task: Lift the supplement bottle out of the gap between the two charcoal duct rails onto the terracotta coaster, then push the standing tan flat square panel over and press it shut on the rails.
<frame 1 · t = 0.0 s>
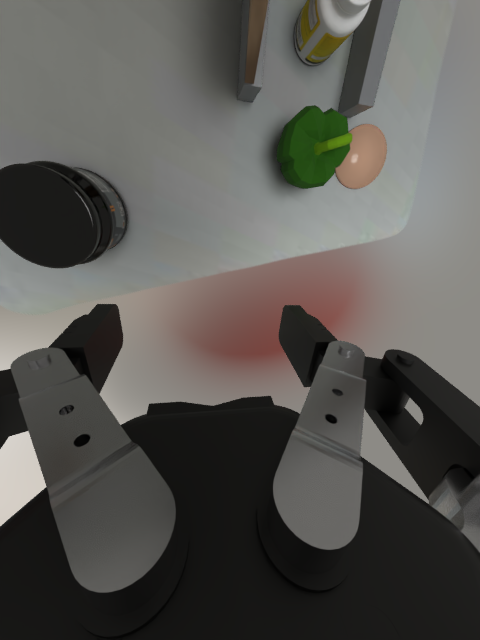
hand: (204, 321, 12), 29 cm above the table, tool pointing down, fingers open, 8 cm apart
duct rails: (305, 45, 29), on the table
supplement bottle: (313, 36, 29), on the table
coaster: (359, 158, 36), on the table
bell pepper: (296, 157, 35), on the table
supplement container: (90, 211, 34), on the table
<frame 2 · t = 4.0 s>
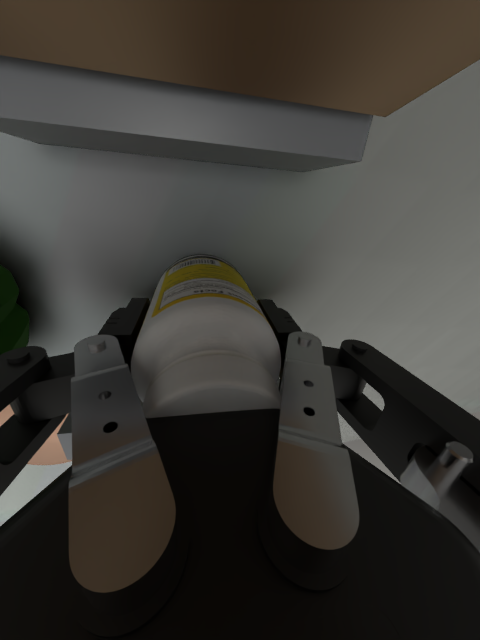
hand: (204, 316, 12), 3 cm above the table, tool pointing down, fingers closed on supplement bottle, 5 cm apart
duct rails: (186, 281, 14), on the table
supplement bottle: (203, 296, 15), on the table, touching gripper
coaster: (41, 425, 17), on the table
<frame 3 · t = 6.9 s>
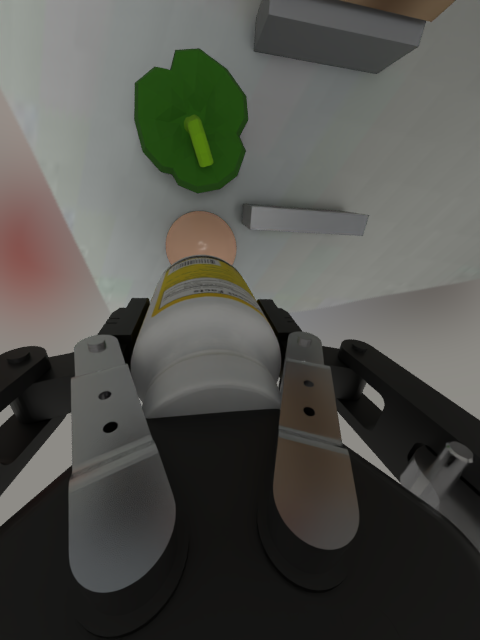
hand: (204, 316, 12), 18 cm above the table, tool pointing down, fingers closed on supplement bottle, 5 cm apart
duct rails: (305, 143, 25), on the table
supplement bottle: (203, 295, 15), point 15 cm above the table, touching gripper
coaster: (201, 248, 28), on the table
bell pepper: (193, 144, 24), on the table
when the fingers open (4 cm above the table, at t = 10.0 s): supplement bottle stays where it is, resting on coaster.
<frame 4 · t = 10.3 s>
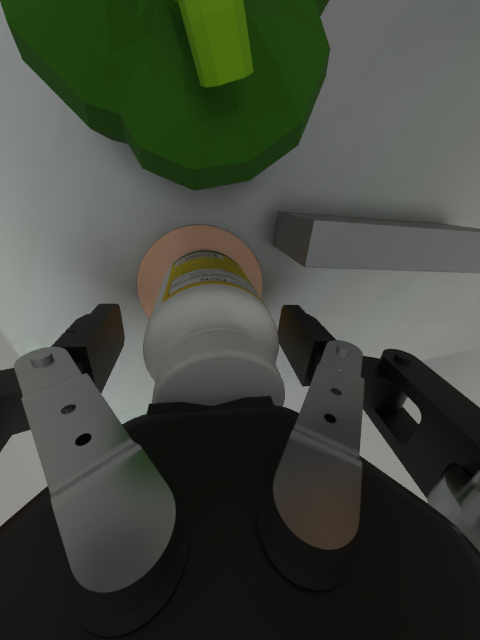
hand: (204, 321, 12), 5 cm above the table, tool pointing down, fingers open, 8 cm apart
duct rails: (403, 96, 13), on the table
supplement bottle: (206, 289, 16), resting on coaster
coaster: (202, 289, 16), on the table
bell pepper: (187, 90, 11), on the table
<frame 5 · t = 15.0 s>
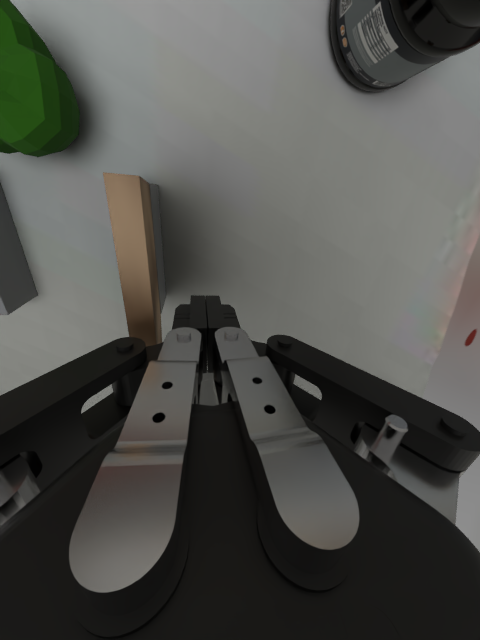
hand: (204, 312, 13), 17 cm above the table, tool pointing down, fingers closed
duct rails: (84, 242, 26), on the table
bell pepper: (41, 105, 20), on the table
supplement container: (379, 19, 21), on the table
tan flat square panel: (147, 283, 16), point 13 cm above the table, hinge at 97.7°, touching gripper
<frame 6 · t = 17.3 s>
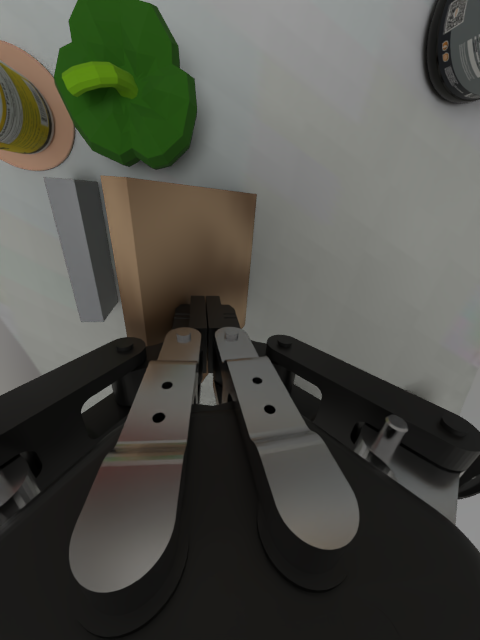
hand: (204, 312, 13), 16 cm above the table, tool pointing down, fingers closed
duct rails: (168, 250, 26), on the table
supplement bottle: (19, 116, 19), resting on coaster
coaster: (18, 112, 19), on the table
bell pepper: (147, 118, 21), on the table
supplement container: (471, 33, 22), on the table
tan flat square panel: (211, 290, 16), point 12 cm above the table, hinge at 60.8°, touching gripper
coffee cup: (397, 401, 45), on the table
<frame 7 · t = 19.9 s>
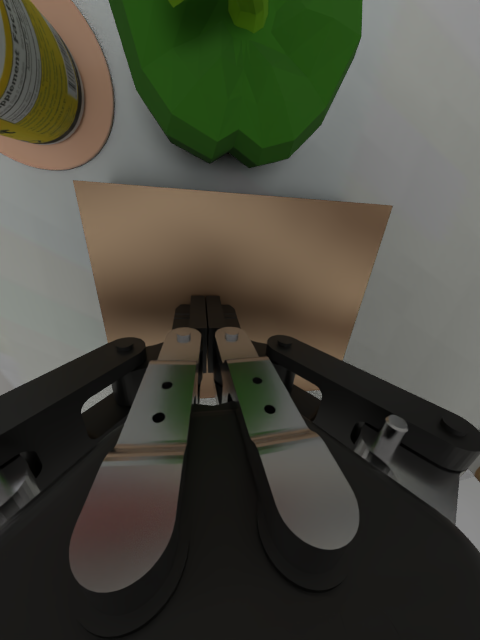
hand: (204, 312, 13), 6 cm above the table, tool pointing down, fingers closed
supplement bottle: (30, 83, 12), resting on coaster
coaster: (28, 78, 12), on the table
bell pepper: (222, 90, 14), on the table
tan flat square panel: (240, 311, 14), point 6 cm above the table, hinge at -0.4°, touching gripper
coffee cup: (469, 441, 39), on the table
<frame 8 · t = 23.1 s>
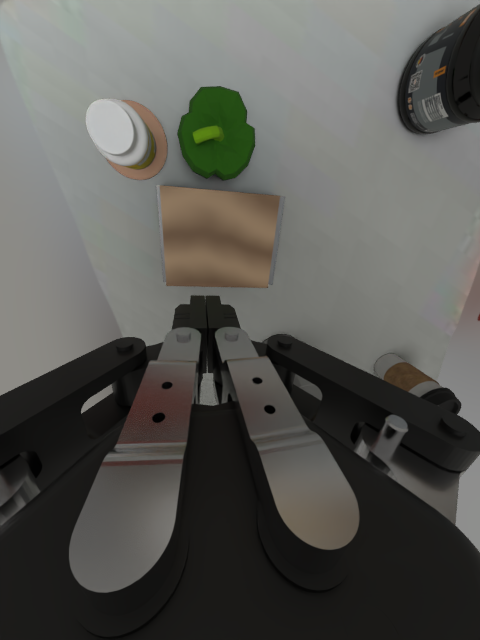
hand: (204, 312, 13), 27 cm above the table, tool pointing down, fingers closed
duct rails: (218, 235, 37), on the table
supplement bottle: (134, 145, 30), resting on coaster
coaster: (134, 143, 30), on the table
bell pepper: (213, 145, 32), on the table
supplement container: (430, 88, 33), on the table
tan flat square panel: (220, 242, 32), point 6 cm above the table, hinge at -0.4°
coffee cup: (385, 363, 56), on the table
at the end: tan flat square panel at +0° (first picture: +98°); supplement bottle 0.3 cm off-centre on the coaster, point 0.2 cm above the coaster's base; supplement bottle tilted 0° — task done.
